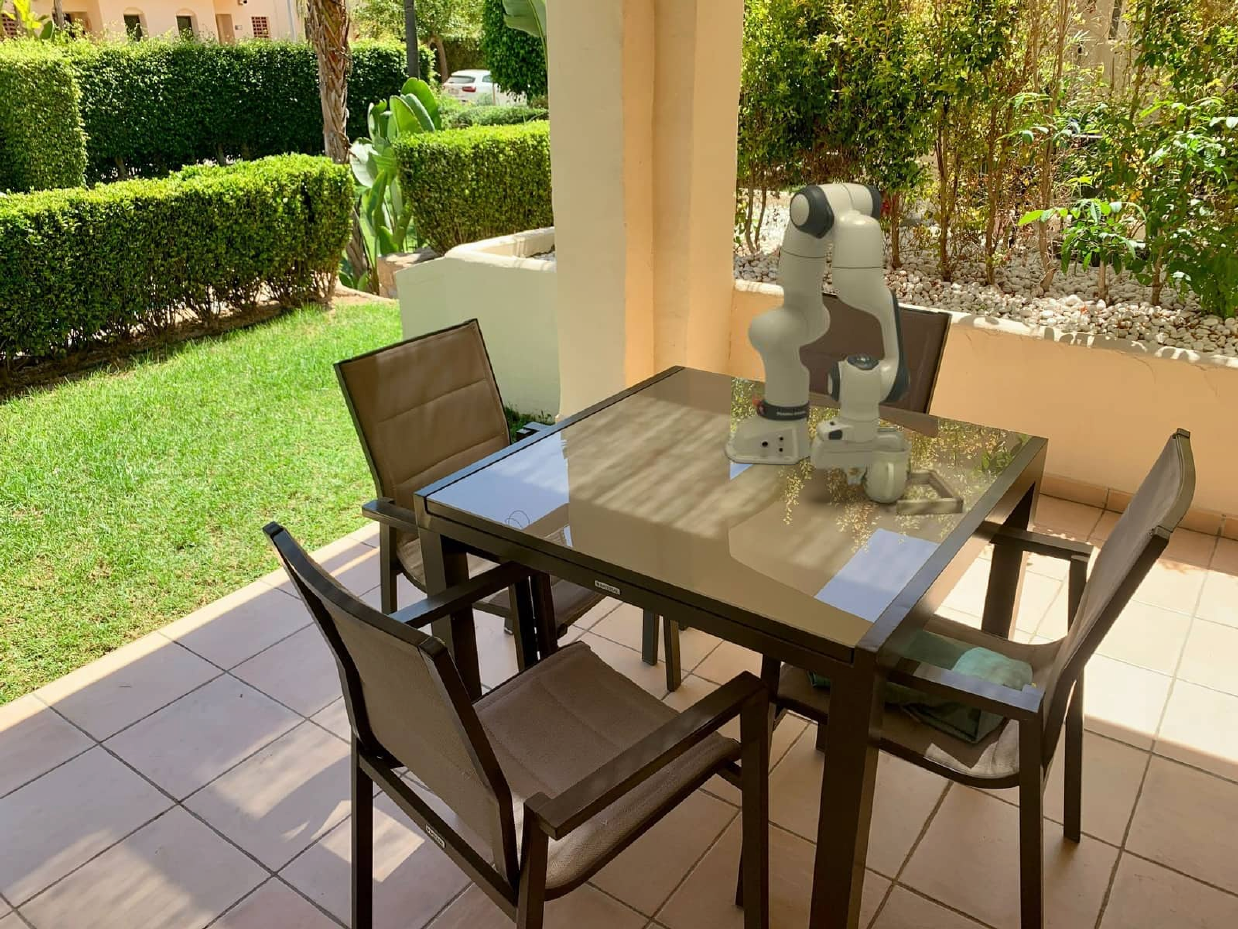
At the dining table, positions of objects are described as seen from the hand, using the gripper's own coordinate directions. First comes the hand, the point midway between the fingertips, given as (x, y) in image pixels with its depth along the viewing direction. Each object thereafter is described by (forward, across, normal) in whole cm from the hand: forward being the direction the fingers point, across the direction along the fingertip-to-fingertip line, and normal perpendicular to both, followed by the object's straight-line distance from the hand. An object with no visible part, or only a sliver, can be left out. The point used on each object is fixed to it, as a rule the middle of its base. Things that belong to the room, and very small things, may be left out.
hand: (853, 484), depth 213 cm
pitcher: (+4, -7, 0) cm, 9 cm away
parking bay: (+4, -15, 0) cm, 15 cm away
